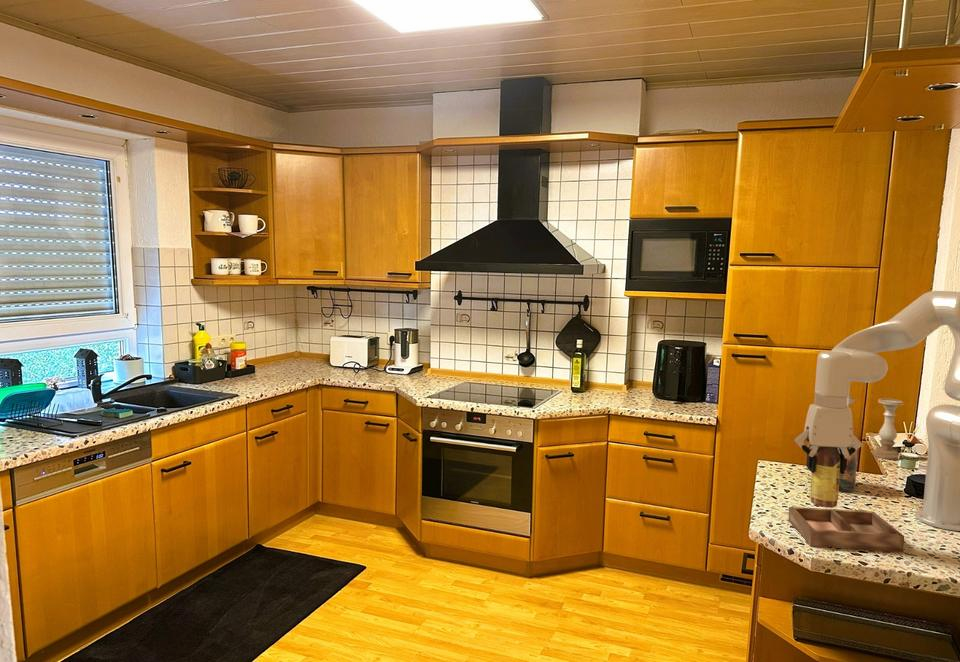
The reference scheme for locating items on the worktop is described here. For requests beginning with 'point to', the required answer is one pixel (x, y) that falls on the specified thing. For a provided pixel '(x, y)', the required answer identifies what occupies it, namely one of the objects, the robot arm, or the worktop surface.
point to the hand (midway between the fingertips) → (825, 471)
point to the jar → (849, 474)
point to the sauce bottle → (826, 477)
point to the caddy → (845, 529)
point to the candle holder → (888, 430)
